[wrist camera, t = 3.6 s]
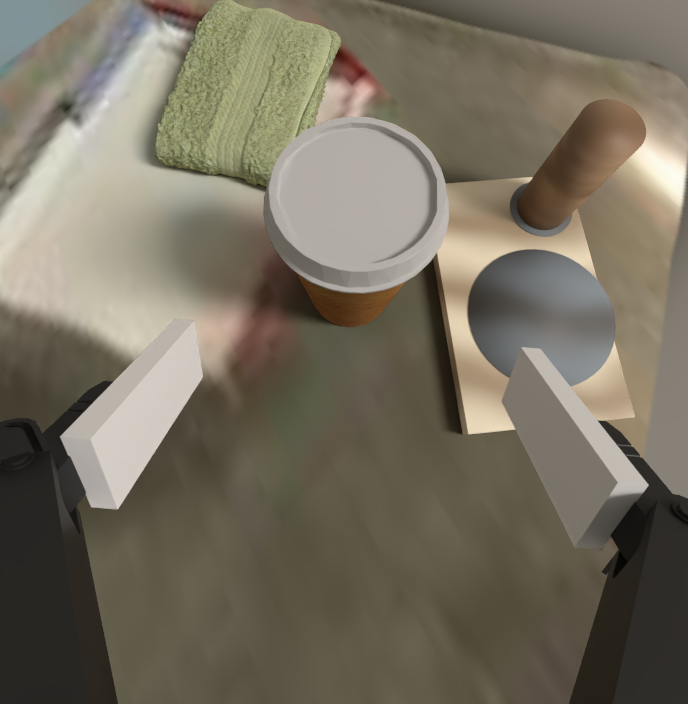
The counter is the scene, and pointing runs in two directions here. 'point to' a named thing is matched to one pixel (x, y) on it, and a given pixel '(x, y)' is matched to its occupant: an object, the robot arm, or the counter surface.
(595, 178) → the walnut peg
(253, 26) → the washcloth
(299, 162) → the disposable coffee cup
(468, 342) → the board
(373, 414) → the counter surface
